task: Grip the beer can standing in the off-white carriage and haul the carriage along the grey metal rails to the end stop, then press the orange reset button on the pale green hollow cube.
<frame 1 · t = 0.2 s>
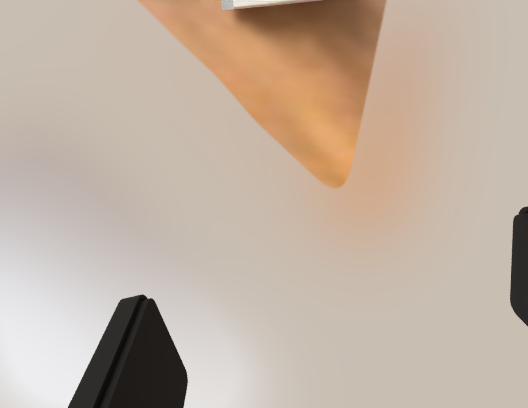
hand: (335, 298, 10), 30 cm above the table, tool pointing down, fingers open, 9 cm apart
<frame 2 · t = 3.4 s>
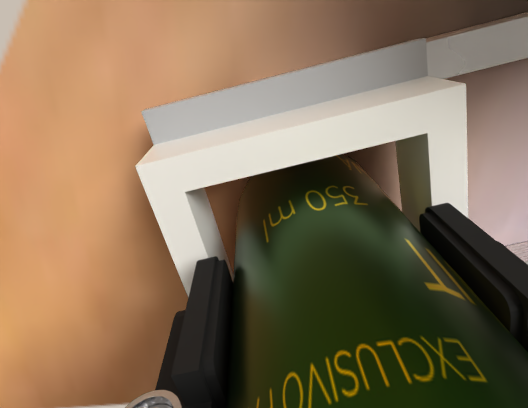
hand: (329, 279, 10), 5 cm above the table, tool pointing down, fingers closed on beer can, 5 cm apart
carriage: (317, 243, 12), point 3 cm above the table, slide at 9.0 cm
beer can: (304, 206, 15), on the table, touching gripper
rail track: (510, 160, 14), on the table
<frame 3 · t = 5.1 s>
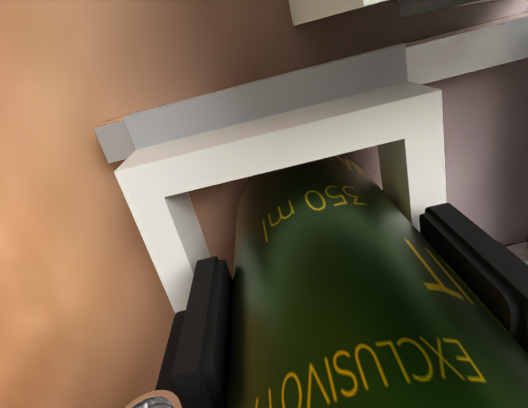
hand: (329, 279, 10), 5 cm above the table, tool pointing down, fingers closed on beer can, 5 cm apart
carriage: (300, 247, 12), point 3 cm above the table, slide at 4.4 cm
beer can: (304, 206, 15), on the table, touching gripper
rail track: (377, 191, 15), on the table
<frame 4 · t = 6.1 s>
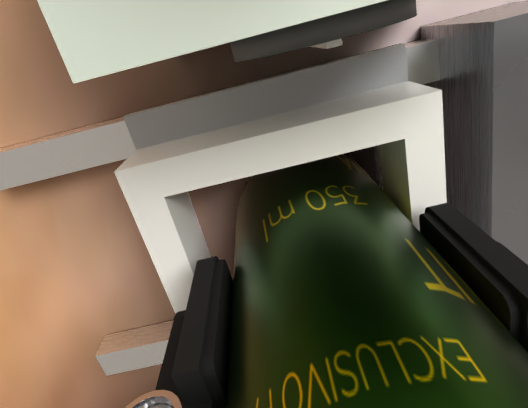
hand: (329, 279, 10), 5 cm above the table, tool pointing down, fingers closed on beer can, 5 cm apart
carriage: (300, 247, 12), point 3 cm above the table, slide at 0.5 cm, touching beer can
beer can: (304, 206, 15), on the table, touching carriage, gripper
rail track: (279, 214, 15), on the table
when the fingers open (5 cm above the table, at t = 7.3 s): beer can stays where it is, on the table.
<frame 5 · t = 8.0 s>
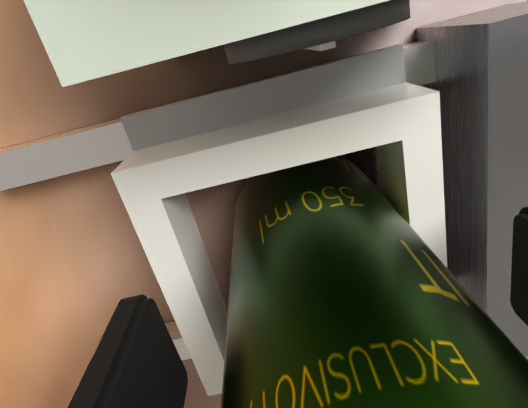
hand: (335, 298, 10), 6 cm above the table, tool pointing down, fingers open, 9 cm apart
carriage: (297, 249, 12), point 3 cm above the table, slide at 0.4 cm
beer can: (302, 207, 15), on the table
rail track: (275, 216, 15), on the table
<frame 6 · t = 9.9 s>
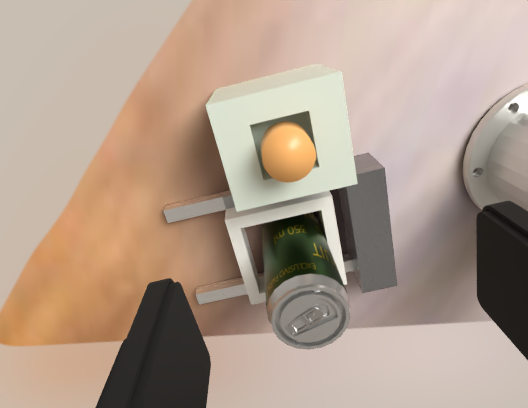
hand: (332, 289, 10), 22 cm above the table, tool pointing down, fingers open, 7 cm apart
reset button: (286, 151, 22), point 9 cm above the table, slide at 0.0 cm
carriage: (287, 246, 32), point 3 cm above the table, slide at 0.4 cm
pale green hollow cube: (276, 120, 30), on the table
beer can: (290, 228, 34), on the table
rail track: (278, 232, 34), on the table
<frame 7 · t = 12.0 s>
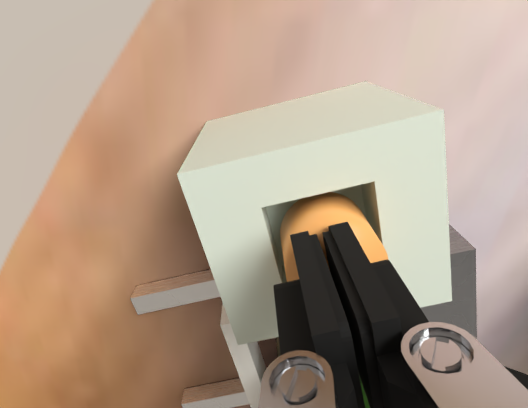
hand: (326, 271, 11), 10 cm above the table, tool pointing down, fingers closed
reset button: (329, 249, 12), point 8 cm above the table, slide at 0.6 cm, touching gripper
carriage: (314, 351, 21), point 3 cm above the table, slide at 0.4 cm
pale green hollow cube: (299, 167, 20), on the table
rail track: (299, 319, 24), on the table
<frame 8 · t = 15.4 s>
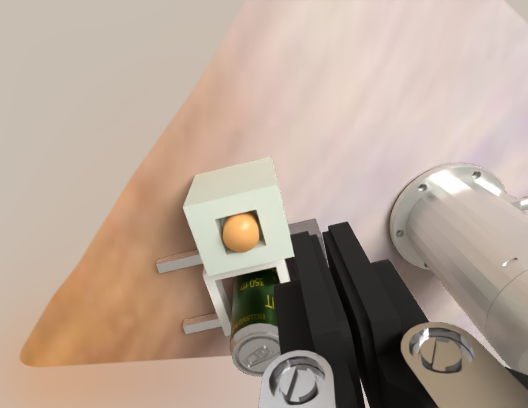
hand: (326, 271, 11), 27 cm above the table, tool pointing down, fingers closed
reset button: (241, 229, 32), point 7 cm above the table, slide at 1.5 cm
carriage: (252, 291, 41), point 3 cm above the table, slide at 0.4 cm
pale green hollow cube: (242, 196, 39), on the table
beer can: (257, 274, 43), on the table
rail track: (247, 277, 43), on the table
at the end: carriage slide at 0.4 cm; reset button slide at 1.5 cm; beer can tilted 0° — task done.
